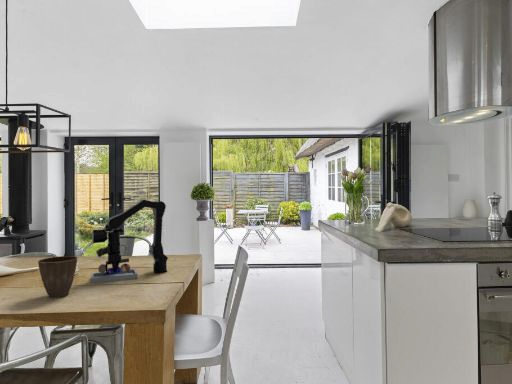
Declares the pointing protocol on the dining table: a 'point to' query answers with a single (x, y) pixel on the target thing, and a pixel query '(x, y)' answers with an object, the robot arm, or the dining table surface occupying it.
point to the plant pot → (57, 274)
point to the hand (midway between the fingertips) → (114, 271)
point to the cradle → (113, 276)
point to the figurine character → (102, 268)
